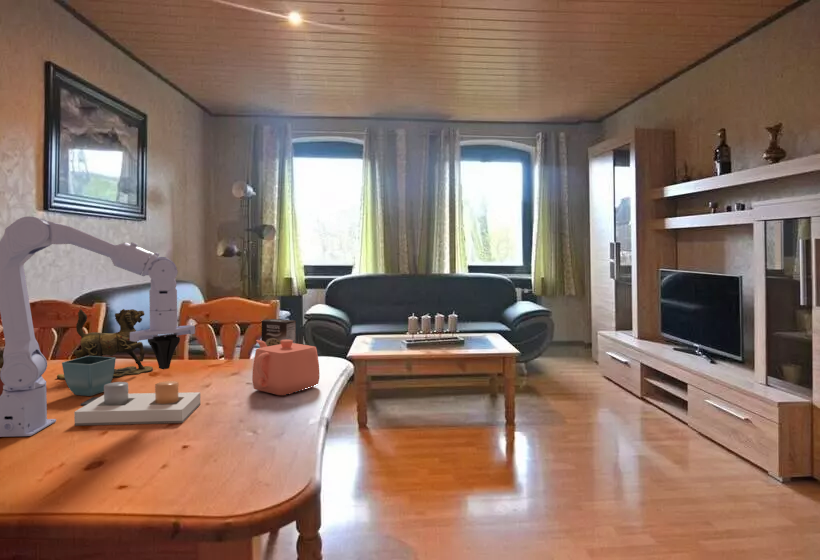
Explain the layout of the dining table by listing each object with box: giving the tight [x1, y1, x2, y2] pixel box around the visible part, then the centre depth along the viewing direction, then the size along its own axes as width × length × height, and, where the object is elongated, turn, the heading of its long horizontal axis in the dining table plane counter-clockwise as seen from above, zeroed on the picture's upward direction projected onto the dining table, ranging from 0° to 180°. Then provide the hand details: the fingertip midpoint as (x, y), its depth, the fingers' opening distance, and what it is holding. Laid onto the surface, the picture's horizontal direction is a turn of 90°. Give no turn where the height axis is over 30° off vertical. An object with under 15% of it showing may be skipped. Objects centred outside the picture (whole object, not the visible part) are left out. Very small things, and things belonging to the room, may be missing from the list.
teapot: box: [251, 339, 320, 396], centre depth 142 cm, size 20×19×14 cm
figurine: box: [56, 308, 154, 380], centre depth 154 cm, size 13×25×20 cm, turn 118°
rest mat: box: [80, 396, 100, 407], centre depth 127 cm, size 6×6×1 cm
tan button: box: [154, 380, 179, 404], centre depth 118 cm, size 5×5×4 cm
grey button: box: [103, 381, 129, 405], centre depth 117 cm, size 5×5×4 cm
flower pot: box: [61, 355, 117, 397], centre depth 134 cm, size 9×9×9 cm
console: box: [73, 391, 201, 427], centre depth 117 cm, size 14×22×3 cm, turn 97°
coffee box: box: [261, 318, 297, 346], centre depth 164 cm, size 9×6×16 cm
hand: (164, 368), depth 118 cm, fingers closed
